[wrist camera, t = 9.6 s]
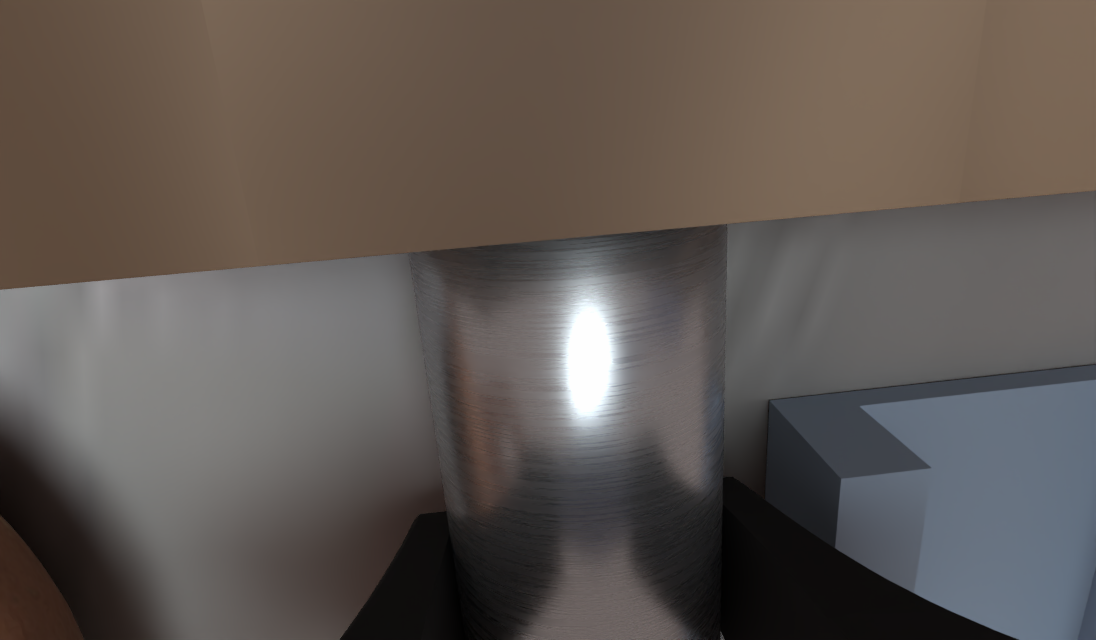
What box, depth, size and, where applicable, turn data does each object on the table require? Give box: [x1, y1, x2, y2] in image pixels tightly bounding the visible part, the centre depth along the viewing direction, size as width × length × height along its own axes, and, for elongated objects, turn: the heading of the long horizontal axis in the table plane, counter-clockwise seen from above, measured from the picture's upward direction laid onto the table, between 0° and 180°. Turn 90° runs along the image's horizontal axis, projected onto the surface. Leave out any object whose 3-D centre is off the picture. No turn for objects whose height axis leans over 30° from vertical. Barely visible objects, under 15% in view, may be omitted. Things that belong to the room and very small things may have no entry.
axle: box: [409, 224, 727, 640], centre depth 11 cm, size 4×16×4 cm, turn 4°
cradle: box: [765, 365, 1096, 640], centre depth 14 cm, size 9×9×3 cm
